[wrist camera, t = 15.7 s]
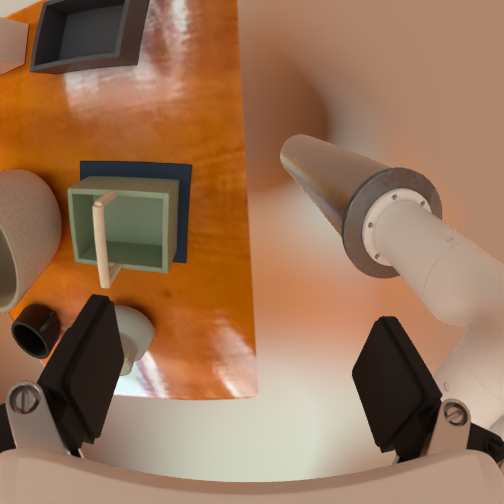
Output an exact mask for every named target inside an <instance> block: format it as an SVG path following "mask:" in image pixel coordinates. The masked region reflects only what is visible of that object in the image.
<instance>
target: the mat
mask: <svg viewBox="0 0 504 504" xmlns="http://www.w3.org/2000/svg"><path fill="white" fill-rule="evenodd" d="M191 169H192V165H186V164H171V163H153V162H126V161H80V181H81V180H83V179H85V178H87V177H89V176H115V177H139V178H157V179H173V180H180V183H179V200H178V223H177V250H176V253H175V256H174V258H173V261H172V262H179V263H186V256H187V231H188V212H189V196H190V182H191Z"/></svg>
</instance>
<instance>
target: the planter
mask: <svg viewBox="0 0 504 504" xmlns="http://www.w3.org/2000/svg"><path fill="white" fill-rule="evenodd" d="M61 234H62V219H61V213H60V209H59V205H58V202H57V200H56V198H55V196H54V194H53V192H52V190H51V189H50V187H49V186H48V185H47V183H46V182H45V181H44V180H43V179H42V178H40V177H39V176H38V175H36V174H34V173H33V172H30V171H28V170H24V169H10V170H4V171H1V172H0V313H6V312H9V311H11V310H12V309H13V308H14V307H15V306H16V305H17V304H18V302H19V301H20V300H21V299H22V297H23V296H24V295H25V294H26V292H27V291H28V290H29V289H30V287H31V286H32V285H33V284H34V283H35V281H36V280H37V279H38V278H39V277H40V275H41V274H42V273H43V272H44V270H45V269H46V268H47V266H48V265H49V264H50V262H51V261H52V259H53V257H54V256H55V254H56V252H57V250H58V247H59V244H60V240H61Z"/></svg>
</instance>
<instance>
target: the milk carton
mask: <svg viewBox="0 0 504 504" xmlns="http://www.w3.org/2000/svg"><path fill="white" fill-rule="evenodd" d="M28 28H29V24H26V23H22V22H18V21H14V20H10V19H5V18H1V17H0V75H1V74H3V73H5V72H8V71H10V70H12V69H14V68H16V67H19V66H21V65H23V64H25V54H26V44H27V35H28Z"/></svg>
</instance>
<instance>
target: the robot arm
mask: <svg viewBox="0 0 504 504" xmlns="http://www.w3.org/2000/svg"><path fill="white" fill-rule="evenodd" d="M392 196H393V197H392ZM362 238H363V243H364V246H365V249H366V251H367V252H368V254H369V255H370V256H371V257H372V258H373V259H374V260H375V261H376V262H378V263H379V264H382V265H385V266H393V267H394V268H395V269H396V271H397V272H398V273H399V274H400V275H401V276H402V277H403V279H404V280H405V281H406V282H407V284H408V285H409V286H410V287H411V288H412V290H413V291H414V292H415V293H416V294H417V295H418V297H419V298H420V299H421V301H422V302H423V303H424V304H425V305H426V307H427V308H428V309H429V310H430V311H431V313H432V314H433V315H434V316H435V317H436V318H437V319H439V320H440V321H442V322H444V323H446V324H450V325H469V327H468V329H467V331H466V333H465V334H464V336H463V337H462V339H461V340H460V342H459V344H458V345H457V346H456V348H455V349H454V350H453V352H452V353H451V354H450V355H449V357H448V358H447V359H446V360H445V362H444V363H443V364H442V365H441V367H440V368H439V369H438V370H437V372H436V373H435V374H434V375H433V376H432V375H431V373H430V371H429V370H428V368H427V366H426V365H425V363H424V361H423V360H422V358H421V356H420V355H419V353H418V351H417V350H416V348H415V346H414V345H413V343H412V341H411V340H410V338H409V337H408V335H407V333H406V332H405V330H404V329H403V327H402V326H401V324H400V323H399V321H398V319H397V318H396V317H394V316H387V317H386V316H382V317H380V318H379V319H378V320H377V321H375V323H374V325H373V327H372V329H371V332H370V334H369V336H368V338H367V341H366V343H365V345H364V347H363V349H362V351H361V353H360V355H359V357H358V360H357V362H356V363H355V365H354V368H353V370H352V377H353V380H354V383H355V385H356V389H357V391H358V394H359V397H360V400H361V403H362V405H363V408H364V411H365V414H366V417H367V420H368V423H369V426H370V429H371V432H372V434H373V437H374V441H375V443H376V445H377V446H378V447H380V449H381V452H382V453H384V452H389V451H393V450H394V449H395V451H396V457H395V459H394V461H393V463H392V465H390V466H385V467H381V468H377V469H372V470H368V471H363V472H358V473H352V474H346V475H340V476H333V477H326V478H318V479H309V480H299V481H283V482H217V481H203V480H191V479H182V478H175V477H167V476H160V475H154V474H149V473H143V472H138V471H133V470H128V469H123V468H119V467H114V466H110V465H106V464H102V463H98V462H94V461H91V460H87V459H84V456H83V454H82V452H81V451H80V448H81V446H82V443H83V442H86V443H90V444H94V440H95V438H99V437H100V435H101V431H102V428H103V424H104V422H105V418H106V415H107V412H108V409H109V406H110V402H111V399H112V396H113V393H114V390H115V387H116V384H117V381H118V379H119V376H120V373H121V370H122V367H123V364H124V352H123V348H122V343H121V338H120V333H119V328H118V323H117V318H116V312H115V306H114V302H113V301H110V299H109V297H108V296H103V295H96V294H93V295H91V297H90V298H89V300H88V301H87V303H86V304H85V306H84V307H83V309H82V310H81V312H80V314H79V315H78V317H77V318H76V320H75V322H74V323H73V325H72V326H71V327H70V328H68V329H67V330H66V332H65V334H64V335H63V337H62V339H61V340H60V342H59V344H58V345H57V347H56V349H55V350H54V352H53V354H52V356H51V357H50V359H49V361H48V363H47V365H46V366H45V368H44V370H43V372H42V374H41V376H40V378H39V379H38V381H37V383H35V382H33V381H28V380H25V381H20V382H17V383H15V384H14V385H13V386H12V387H10V389H9V390H8V392H7V394H6V397H5V403H4V404H2V405H0V504H504V265H503V264H502V263H500V262H499V261H498V260H496V259H495V258H493V257H492V256H491V255H489V254H488V253H486V252H485V251H484V250H483V249H481V248H480V247H479V246H477V245H476V244H475V243H473V242H472V241H471V240H469V239H468V238H466V237H465V236H464V235H462V234H461V233H459V232H458V231H457V230H455V229H454V228H452V227H451V226H450V225H448V224H447V223H445V222H444V221H442V220H441V219H439V218H438V217H436V216H435V215H433V214H432V212H431V209H430V206H429V204H428V202H427V201H426V200H425V198H424V197H423V196H422V195H420V194H419V193H417V192H415V191H413V190H410V189H406V188H399V189H394V190H391V191H389V192H387V193H385V194H383V195H382V196H381V197H379V198H378V199H377V200H376V201H375V202H374V203H373V205H372V206H371V208H370V209H369V211H368V213H367V215H366V217H365V220H364V223H363V230H362Z"/></svg>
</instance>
